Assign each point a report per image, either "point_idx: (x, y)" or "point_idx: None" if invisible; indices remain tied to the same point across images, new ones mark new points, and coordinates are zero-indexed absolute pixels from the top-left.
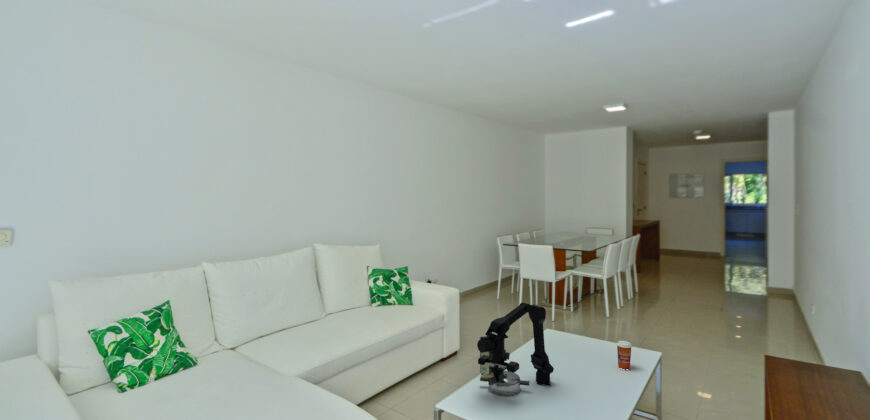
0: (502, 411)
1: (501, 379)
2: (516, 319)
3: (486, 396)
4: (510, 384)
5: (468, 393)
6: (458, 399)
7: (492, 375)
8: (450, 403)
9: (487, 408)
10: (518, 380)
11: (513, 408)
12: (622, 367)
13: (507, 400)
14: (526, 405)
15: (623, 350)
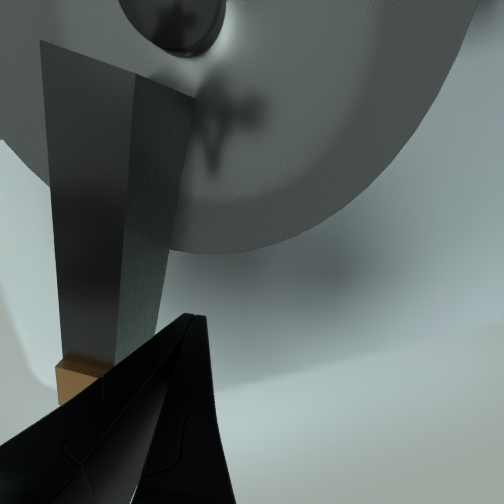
0: (299, 364)
1: (182, 158)
2: None
3: None
4: (328, 212)
5: (40, 261)
6: (52, 335)
7: (73, 345)
8: (53, 373)
9: (220, 362)
10: (459, 39)
11: (353, 324)
12: None
13: (299, 252)
14: (440, 267)
15: None
